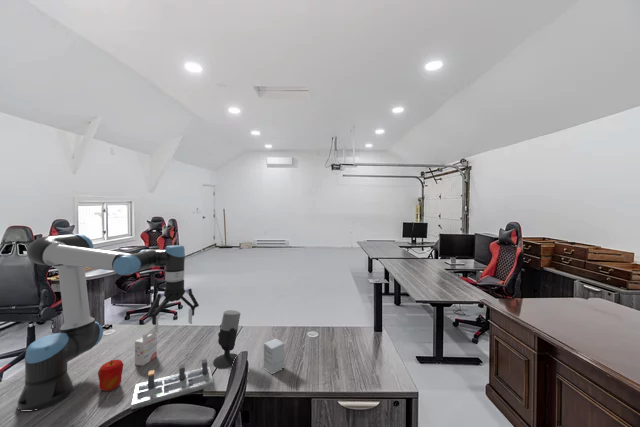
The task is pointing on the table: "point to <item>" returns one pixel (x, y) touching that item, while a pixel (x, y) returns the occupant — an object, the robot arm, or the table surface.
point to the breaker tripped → (151, 379)
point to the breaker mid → (181, 372)
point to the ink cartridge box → (146, 348)
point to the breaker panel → (171, 387)
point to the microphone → (227, 339)
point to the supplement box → (274, 355)
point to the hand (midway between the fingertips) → (173, 327)
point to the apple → (110, 375)
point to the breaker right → (204, 367)
